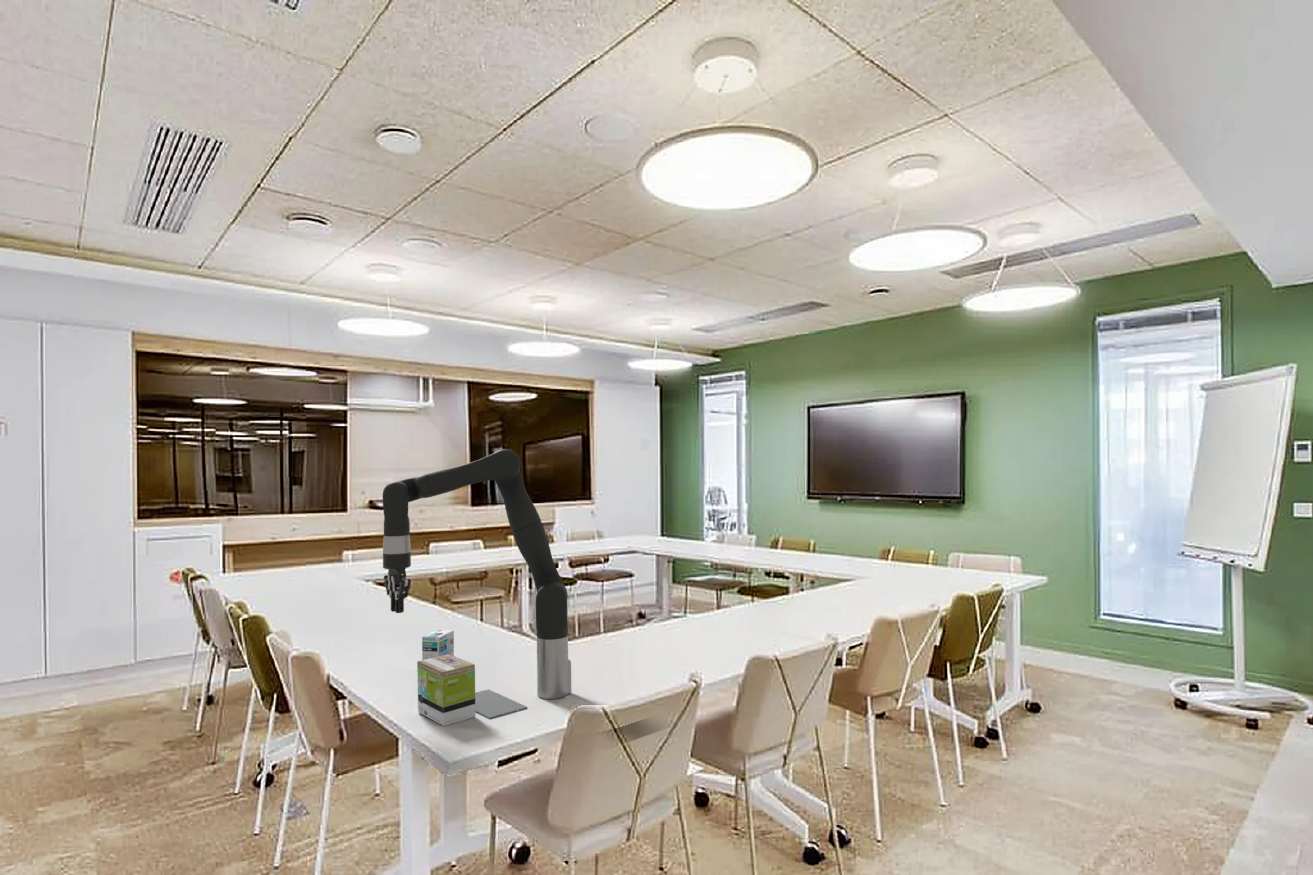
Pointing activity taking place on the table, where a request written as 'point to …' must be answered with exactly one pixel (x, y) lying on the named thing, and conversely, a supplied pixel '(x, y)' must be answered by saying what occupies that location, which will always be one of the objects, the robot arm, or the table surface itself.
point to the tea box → (446, 689)
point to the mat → (494, 704)
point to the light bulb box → (438, 644)
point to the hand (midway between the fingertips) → (397, 611)
